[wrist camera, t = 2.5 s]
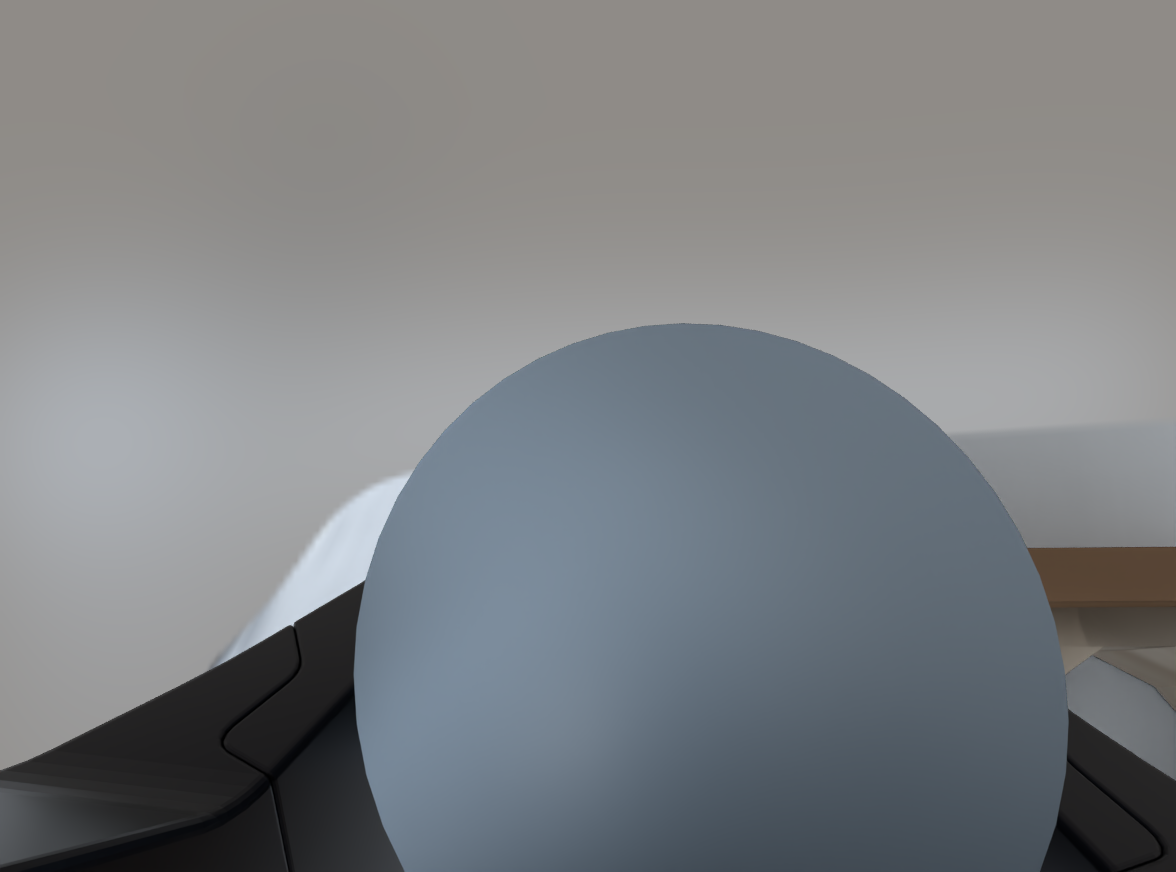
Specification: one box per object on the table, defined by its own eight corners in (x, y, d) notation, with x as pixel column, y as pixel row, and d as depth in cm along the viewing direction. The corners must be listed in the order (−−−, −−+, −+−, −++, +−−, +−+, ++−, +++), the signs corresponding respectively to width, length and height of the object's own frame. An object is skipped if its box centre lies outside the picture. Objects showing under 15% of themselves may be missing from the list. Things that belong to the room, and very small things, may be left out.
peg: (692, 793, 14) (1075, 1215, 3) (517, 741, 14) (228, 924, 3) (725, 610, 15) (1065, 396, 4) (564, 568, 16) (481, 272, 5)
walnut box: (1455, 1199, 11) (1799, 1405, 8) (834, 1197, 11) (928, 1399, 8) (1224, 575, 15) (1391, 545, 12) (767, 579, 16) (812, 549, 12)
